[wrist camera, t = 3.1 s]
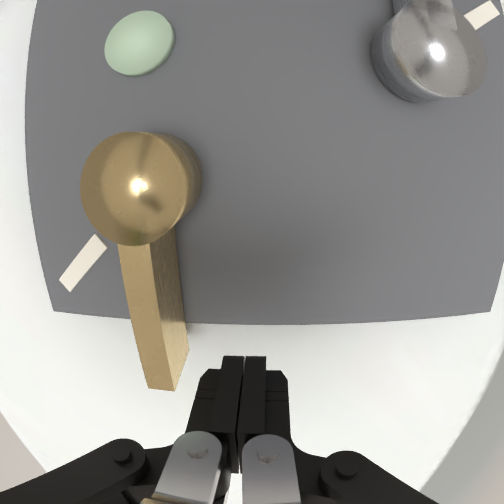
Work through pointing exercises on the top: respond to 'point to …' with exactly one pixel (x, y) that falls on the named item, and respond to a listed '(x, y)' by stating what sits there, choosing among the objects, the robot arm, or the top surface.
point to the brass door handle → (146, 236)
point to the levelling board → (271, 159)
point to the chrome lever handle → (428, 52)
